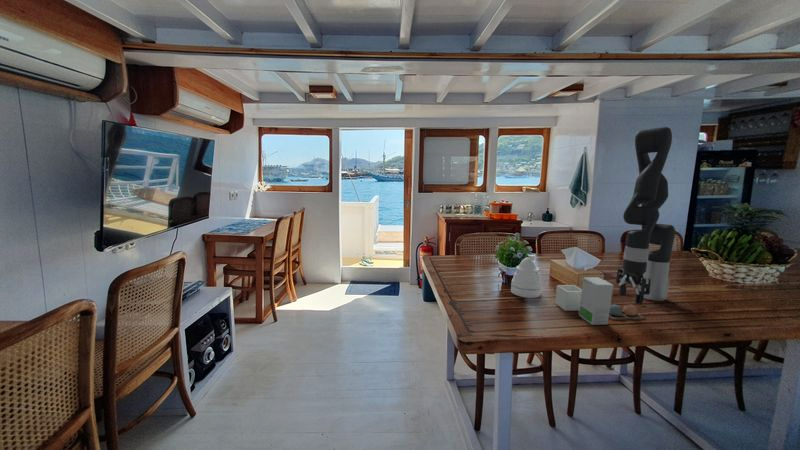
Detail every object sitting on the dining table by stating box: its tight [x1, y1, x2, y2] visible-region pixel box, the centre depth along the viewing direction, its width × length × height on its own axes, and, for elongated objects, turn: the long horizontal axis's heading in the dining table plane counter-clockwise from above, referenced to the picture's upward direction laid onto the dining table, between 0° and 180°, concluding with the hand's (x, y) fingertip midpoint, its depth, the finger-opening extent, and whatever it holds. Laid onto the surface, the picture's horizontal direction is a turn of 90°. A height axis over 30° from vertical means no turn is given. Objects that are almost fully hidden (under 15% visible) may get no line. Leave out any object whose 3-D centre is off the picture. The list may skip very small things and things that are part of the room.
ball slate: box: [609, 304, 623, 317], centre depth 126 cm, size 4×4×4 cm
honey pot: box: [510, 254, 542, 299], centre depth 149 cm, size 13×13×18 cm
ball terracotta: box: [622, 303, 638, 317], centre depth 126 cm, size 4×4×4 cm
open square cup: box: [554, 284, 582, 312], centre depth 134 cm, size 8×8×8 cm
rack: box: [609, 309, 646, 321], centre depth 126 cm, size 13×7×1 cm, turn 93°
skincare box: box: [578, 276, 614, 326], centre depth 121 cm, size 8×7×16 cm
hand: (630, 299), depth 125 cm, fingers open, 8 cm apart
